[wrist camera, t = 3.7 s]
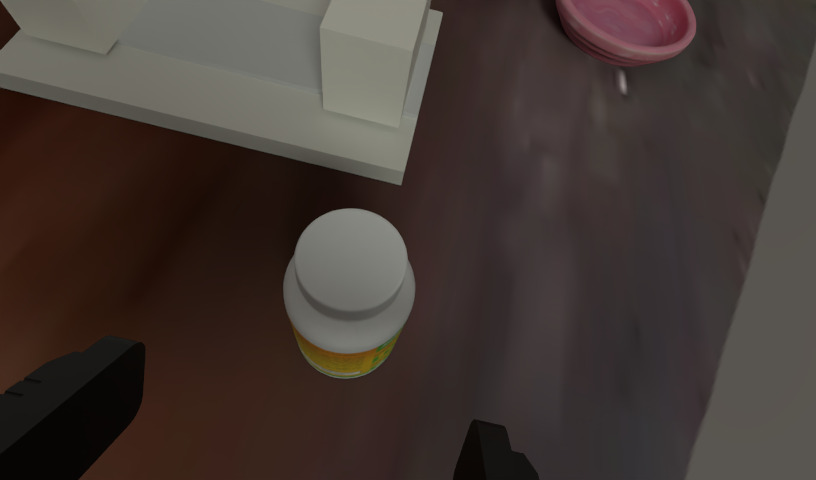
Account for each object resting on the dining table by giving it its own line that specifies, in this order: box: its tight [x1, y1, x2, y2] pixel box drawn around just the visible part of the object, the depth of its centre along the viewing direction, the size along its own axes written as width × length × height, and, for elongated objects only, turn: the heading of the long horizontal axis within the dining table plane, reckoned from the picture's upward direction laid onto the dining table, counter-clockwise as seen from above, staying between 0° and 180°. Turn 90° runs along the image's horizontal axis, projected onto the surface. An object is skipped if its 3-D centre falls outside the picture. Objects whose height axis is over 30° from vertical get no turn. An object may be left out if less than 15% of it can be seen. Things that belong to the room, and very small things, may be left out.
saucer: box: [555, 0, 696, 67], centre depth 38 cm, size 12×12×3 cm
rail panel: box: [0, 0, 443, 185], centre depth 28 cm, size 26×16×8 cm, turn 79°
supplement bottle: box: [283, 208, 415, 378], centre depth 19 cm, size 5×5×10 cm
